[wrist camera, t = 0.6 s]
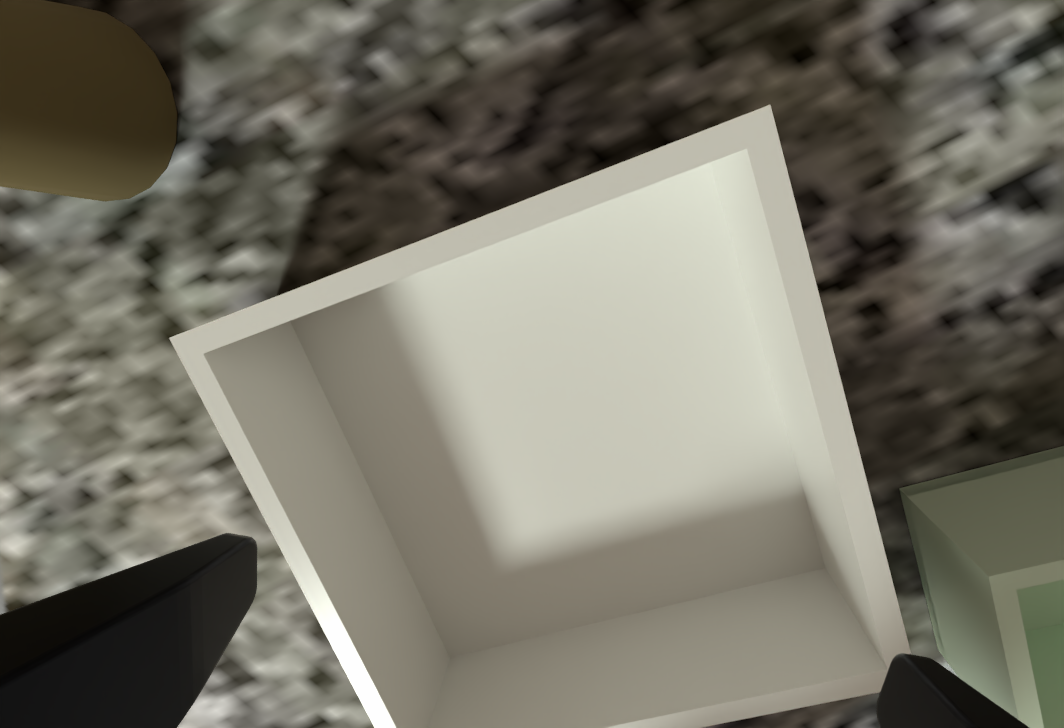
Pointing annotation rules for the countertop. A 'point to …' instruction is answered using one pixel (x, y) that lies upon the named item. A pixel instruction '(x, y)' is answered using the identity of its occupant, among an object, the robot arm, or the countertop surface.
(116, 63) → the olive pepper shaker
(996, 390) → the countertop surface
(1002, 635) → the sage crate
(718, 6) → the countertop surface
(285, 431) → the white open box
